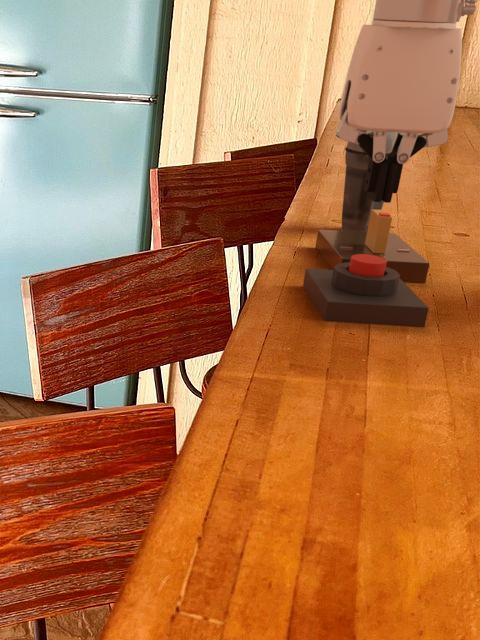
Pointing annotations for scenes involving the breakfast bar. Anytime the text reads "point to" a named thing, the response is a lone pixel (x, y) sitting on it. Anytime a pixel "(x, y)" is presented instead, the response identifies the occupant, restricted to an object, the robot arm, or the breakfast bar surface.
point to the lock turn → (378, 231)
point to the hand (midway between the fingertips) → (378, 199)
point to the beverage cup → (359, 187)
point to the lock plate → (350, 243)
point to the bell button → (367, 265)
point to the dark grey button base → (364, 297)
